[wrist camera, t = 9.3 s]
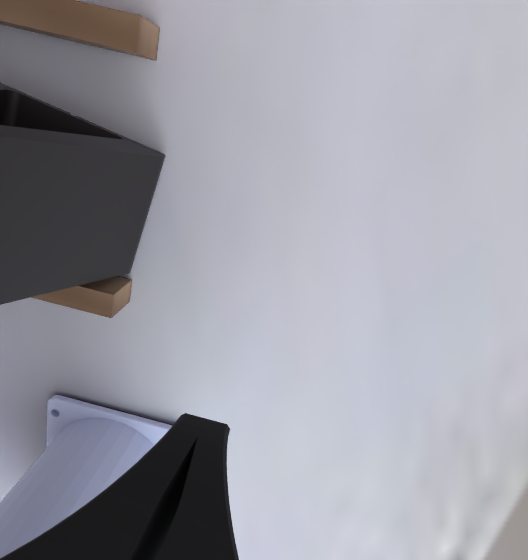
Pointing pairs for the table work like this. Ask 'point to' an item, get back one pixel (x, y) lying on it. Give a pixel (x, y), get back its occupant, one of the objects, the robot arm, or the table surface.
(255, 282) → the table surface
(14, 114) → the phone stand
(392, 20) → the table surface
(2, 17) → the walnut bracket
